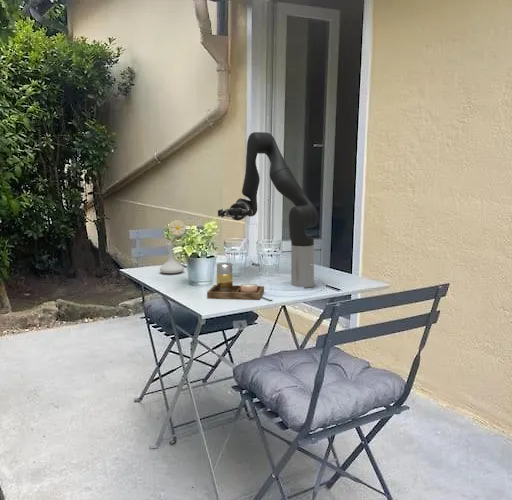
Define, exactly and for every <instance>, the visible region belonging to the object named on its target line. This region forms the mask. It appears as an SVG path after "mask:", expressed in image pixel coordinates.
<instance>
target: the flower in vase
mask: <svg viewBox="0 0 512 500" xmlns="http://www.w3.org/2000/svg"><path fill="white" fill-rule="evenodd" d="M186 229H187V225H185V223H184V222H183V220H180V219H179V220H178V219H175V220H173V221H171V222H170V224H169V225H168V230H169V232H170V234H172V235H174V236H175V237H174V239H175V240H177V241H178V240H179V239H181V238H182V237H183V236H182V235H184V234H185V232H186ZM165 238H166V239H167V240H169V241H171V242H166V243H165V245H166V247H167V251H168V259H167V261H165V263H163V264H162V265H161V266H160V268H159V271H160V272H161V273H162V274H179V273H181V272H183V271H185V268H184V266H183V265H182V264H181V263H179V262H178V261H177V260H176V259H175V254H174V255H173V253H172V249H173V243H174V242H173V241H172V240H173V239H172V240H171V238H169V237H167V236H165ZM172 242H173V243H172Z"/></svg>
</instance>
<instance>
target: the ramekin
mask: <svg viewBox="0 0 512 500" xmlns="http://www.w3.org/2000/svg"><path fill="white" fill-rule="evenodd" d="M240 286H241V292H242V293H257V286H258V284H256V283H251V282H250V283H241V284H240Z"/></svg>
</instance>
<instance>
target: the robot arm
mask: <svg viewBox="0 0 512 500" xmlns="http://www.w3.org/2000/svg"><path fill="white" fill-rule="evenodd" d="M246 143H247V144H246V156H245V157H246V159H245V175H244V179H243V184H242V189H241V193H242V195H243V196H244V197H246V198H248V199H245V198H238V199H237V200H236V202H235V203H233V204H232V205H231V206H230V207H229V208H225V209H224V208H221V209H218V210H217V217H219V218H220V217H221V218H231V219H232V220H234V221H241V220H244V219H245V218H246V217H250V218H252V217H254V216H255V215H257V212H258V198H257V197H258V190H259V185H260V179H261V178H260V174H259V170H258V167H257V162H256V161H257V156H258V154H259V155H260V154H264V155H266V157H267V158H268V160H269V162H270V168H269V178H270V181H271V183H272V184H273V186H274V187H275V189H276V190H277V191H278V192H279V194H280V195H282V196H283V197H285V198H286V199H288V200H289V201H290V202H291V203H292V204H293V205H294V206H293V207H292V208H290V211H289V213H288V226H289V227H288V229H289V238H290V242H291V245H290V247H291V248H290V249H291V250H290V254H291V256H290V257H291V262H290V263H291V264H290V265H291V267H290V268H291V269H290V270H291V271H290V273H291V274H290V275H291V276H290V277H291V280H290V281H291V282H290V283H291V286H294V287H297V288H304V289H307V288H314V285H315V262H314V261H315V260H314V255H315V254H314V253H315V249H314V248H315V247H314V246H315V240H314V238H313V237H312V236H309V235H308V234H306V229H310V228H313V227H316V226H317V225H318V223H319V213H318V211H317V208H316V207H315V205H314V204H313V203H312V201H310V199H309V197H307V195H306V193H305V192H304V190H303V189H302V187H301V185H300V184H299V183H298V181H297V179H296V177H295V176H294V174H293V172H292V170H291V169H290V167H289V166H288V164H287V162H286V160H285V158H284V156H283V155H282V153H281V151H280V148H279V146H278V144H277V140H275V138H274V136H273V135H272V134H271V133H269V132H258V131H257V132H255V131H254V132H252V133H250V134H249V135H248V139H247V142H246Z"/></svg>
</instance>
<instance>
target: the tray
mask: <svg viewBox="0 0 512 500" xmlns="http://www.w3.org/2000/svg"><path fill="white" fill-rule="evenodd" d="M232 287H233V292H217V284H214V285H213V286H212V287H211V288H209V289H208V291H207V292H206V297H207V299H208V300H210V299H211V300H213V299H214V300H215V299H216V300H243V301H245V300H247V301H260V300H261V298H262V296H263V294H264V293H265V286H264V285H257V293H242V292H241V285H233V286H232Z"/></svg>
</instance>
